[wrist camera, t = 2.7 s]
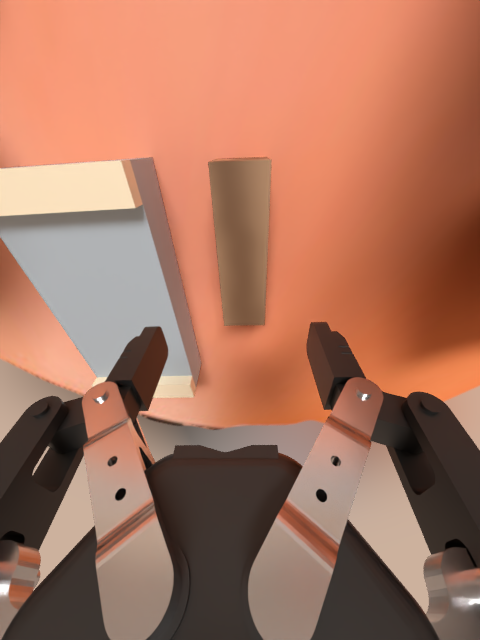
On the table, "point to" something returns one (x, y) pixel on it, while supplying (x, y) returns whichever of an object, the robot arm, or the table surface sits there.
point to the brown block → (241, 235)
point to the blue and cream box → (102, 260)
